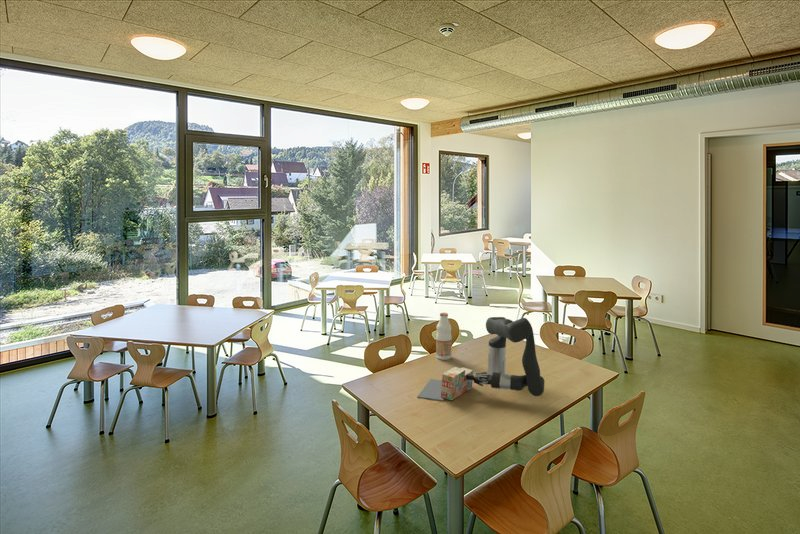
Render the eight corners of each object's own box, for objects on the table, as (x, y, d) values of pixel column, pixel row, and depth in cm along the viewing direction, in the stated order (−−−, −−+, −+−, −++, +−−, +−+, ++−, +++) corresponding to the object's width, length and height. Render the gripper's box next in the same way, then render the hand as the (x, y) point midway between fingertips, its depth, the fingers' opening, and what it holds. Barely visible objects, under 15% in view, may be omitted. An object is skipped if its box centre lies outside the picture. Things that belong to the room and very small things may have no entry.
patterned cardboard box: (461, 383, 243) (463, 361, 241) (472, 387, 240) (473, 364, 238) (440, 397, 226) (442, 373, 224) (451, 401, 223) (453, 377, 221)
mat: (454, 382, 246) (454, 381, 245) (443, 401, 223) (443, 400, 223) (430, 379, 250) (430, 378, 250) (417, 397, 227) (417, 396, 227)
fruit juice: (433, 358, 283) (434, 314, 279) (439, 354, 291) (439, 311, 287) (448, 361, 279) (448, 316, 275) (453, 356, 287) (453, 312, 283)
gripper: (503, 368, 230) (468, 365, 236) (499, 378, 218) (463, 374, 223) (502, 383, 231) (468, 379, 237) (499, 393, 219) (463, 389, 224)
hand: (466, 376), depth 230 cm, fingers closed
